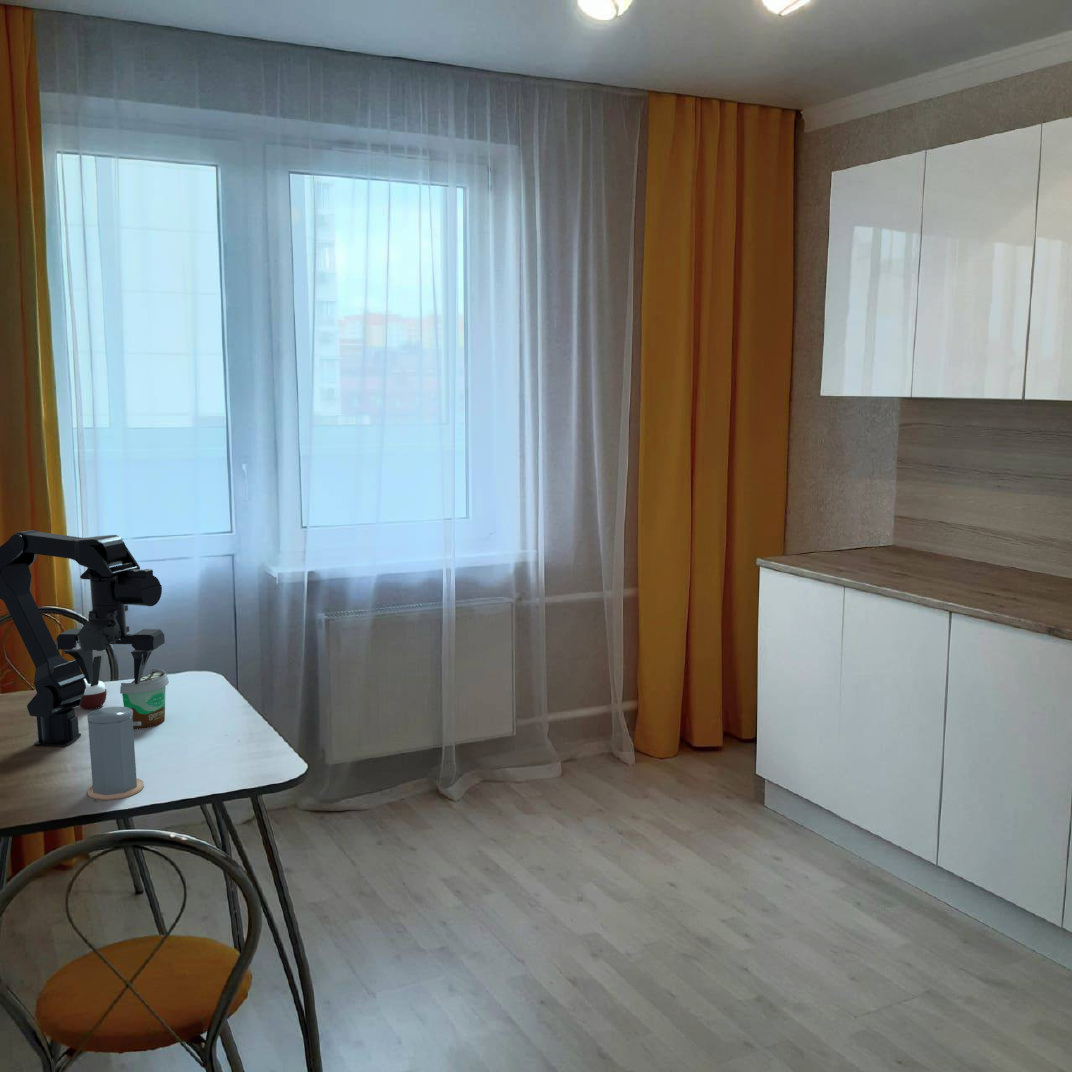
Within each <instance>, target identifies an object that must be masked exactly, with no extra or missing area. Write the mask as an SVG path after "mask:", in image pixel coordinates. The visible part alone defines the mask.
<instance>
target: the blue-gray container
mask: <svg viewBox="0 0 1072 1072" xmlns="http://www.w3.org/2000/svg"><path fill="white" fill-rule="evenodd" d="M132 716H133V710H132V709H131V708H128V707H124V706H108V707H107V706H106V707H102V708H101V707H100V708H96V709H93V710H92V711H90V712H89V713H87V715H86V718H87V719H86V720H87V726H88V727H87V729H88V738H89V742H88V743H89V753H90V754H89V755H90V756H89V757H90V767H91V770H90V771H91V782H92V783H91V785H93V793H96V794H102V795H112V794H119V793H125V792H127V791H129V790H131V789H133V788H136V787H137V779H138V778H137V768H136V767H137V764H136V752H135V751H136V750H135V738H134V737H135V734H134V730H133V718H132ZM136 778H137V779H136Z"/></svg>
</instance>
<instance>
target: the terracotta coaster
mask: <svg viewBox="0 0 1072 1072" xmlns="http://www.w3.org/2000/svg"><path fill="white" fill-rule="evenodd" d="M136 779H137V787H136V788H133V789H131V790H129V791H127V792H125V793H119V794H112V795H102V794H96V793H93V784H91V786H90V787H88V789H87V796H88V797H90V798H91V799H94V800H101V801H111V800H113V801H114V800H118V799H123V798H128V797H131V796H134V795H136V794H138V793H140V792H141V791H142V790H143V789H144V788H145V786H144V785H145V782H144V781H143V779H140V778H137V777H136Z"/></svg>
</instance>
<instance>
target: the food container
mask: <svg viewBox="0 0 1072 1072" xmlns="http://www.w3.org/2000/svg"><path fill="white" fill-rule="evenodd" d="M169 683H170V681H169V677H168V675H167V673H166V671H165V670H163V669H161V668H153V667H151V672H150V673H148V674H146V675H142V677H141V680H140V683H139V684H135V680H133V681H131V682H120V689H119V693H120V695H121V696H122V702H123V707H128V708H131V709H132V710H133V716H132V718H133V731H135V730H144V729H150V728H153V727H158V726H159V725H162V724H163V723H165V720H166V686H168V685H169Z"/></svg>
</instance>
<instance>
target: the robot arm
mask: <svg viewBox="0 0 1072 1072" xmlns="http://www.w3.org/2000/svg"><path fill="white" fill-rule="evenodd" d="M38 555H42V556H48V557H53V558H60V559H61V558H62V559H68V560H72V561H75V562H76V563H77V564H78V565H79V566H81V567H85V568H86V570H85V571H84V572H82V573H81V574H80V575H79V576H80V577H79V578H80V579H81V580H89V582H90V585H89V586H90V597H91V598H90V599H91V600H90V601H91V610H89V611H88V620H87V623H85V624H83V626H82V628H70V629H67V630H65V631H63V632H61V633H59V634H58V635H57V637H56V640H54V638H53V636H52V634H51V632H50V629H49V628H48V626H47V624H46V622H45V619H44V617H43V615H42V613H41V611H40V609H39V606H38V604H37V603H36V600H35V598H34V597H33V595H32V592H31V585H32V577H33V576H32V573H31V569H30V567H31V566H32V565H33V564H34V562H36V559H37V556H38ZM162 588H163V586H162V584H161V582H160V580H159V578H158V577H157V576H155V575H154V570H153V569H152V568H146V569H141V567H140V565H139V563H138V562H137V560H136V559H135V557H134V556H133V555H132V553H131V551H130V550H129V548H128V547H127V546H126V543H125V542H124V540H123V538H122V537H121V536H120V535H117V534H109V535H97V536H90V537H82V536H81V537H79V536H73V535H65V534H57V533H50V532H49V533H48V532H44V531H42V532H41V531H38V530H35V529H31V530H25V531H18V532H17V531H16V532H15V533H14V534H13V535H11V536H10V537H9V539H7V541H6V542H4V543H3V544H2V545H0V600H1V601H2V602H3V603H4V604H5V606H6V609H7V611H8V613H9V615H10V617H11V619H12V621H13V623H14V626H15V628H16V630H17V632H18V634H19V636H20V638H21V640H22V642H23V644H24V647H25V648H26V651H27V653H28V655H29V657H30V659H31V661H32V663H33V665H34V668H35V670H34V672H35V673H34V680H33V684H34V688H35V691H36V694H34V696H33V697H32V699H31V700H30V701H29V702H28V703H27V704H26V708H27V710H28V714H29V716H30V717H36V726H37V727H36V728H37V729H36V730H37V739H38V740H37V741H35V742H34V743H33V746H36V747H66V746H68V745H70V744H71V743H73V742H74V741H76V740H77V739H79V738H80V737H81V736H82V733H80V730H79V729H80V728H79V717H78V716H77V715H76V708H77V707H80V705H81V702H82V698H83V695H84V692H85V689H86V684H85V681H84V679H86V681H87V683H88V684H91V683H92V682H93V659H94V657H93V655H94V653H93V651H97V652H102V651H105V650H106V649H108V647H109V645H131V647H132V648H133V649H134V650H132V651H130V653H131V655H132V658H133V678H134V680H135V684H139V683H140V680H141V677H143V674H144V672H145V668H146V666H147V663H148V660H149V658H150V657H151V654H152V652H153V651H155V650H156V649H158V648H159V647H160V646H162V645H164V644H165V642H166V641H165V633H164V632H163V631H162V630H161V628H159V629H157V628H151V629H150V628H148V629H146V628H145V629H141V630H139V631H138V632H136V633H133V634H131V633H129V632H130V626H129V625H127V621H126V620H127V619H126V612H128V611H129V607H128V606H140V607H153V606H156V605H157V604H158V602H159V601H160V599H161V597H162V594H163V593H162V592H163V589H162ZM61 650H62V651H63V653H64V654H65V655H69V656H71V657H72V658H74V660H71V661H69V660H67V659H66V658H64V657H63V656H62V655H61V653H60V651H61ZM134 680H133V681H134Z"/></svg>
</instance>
